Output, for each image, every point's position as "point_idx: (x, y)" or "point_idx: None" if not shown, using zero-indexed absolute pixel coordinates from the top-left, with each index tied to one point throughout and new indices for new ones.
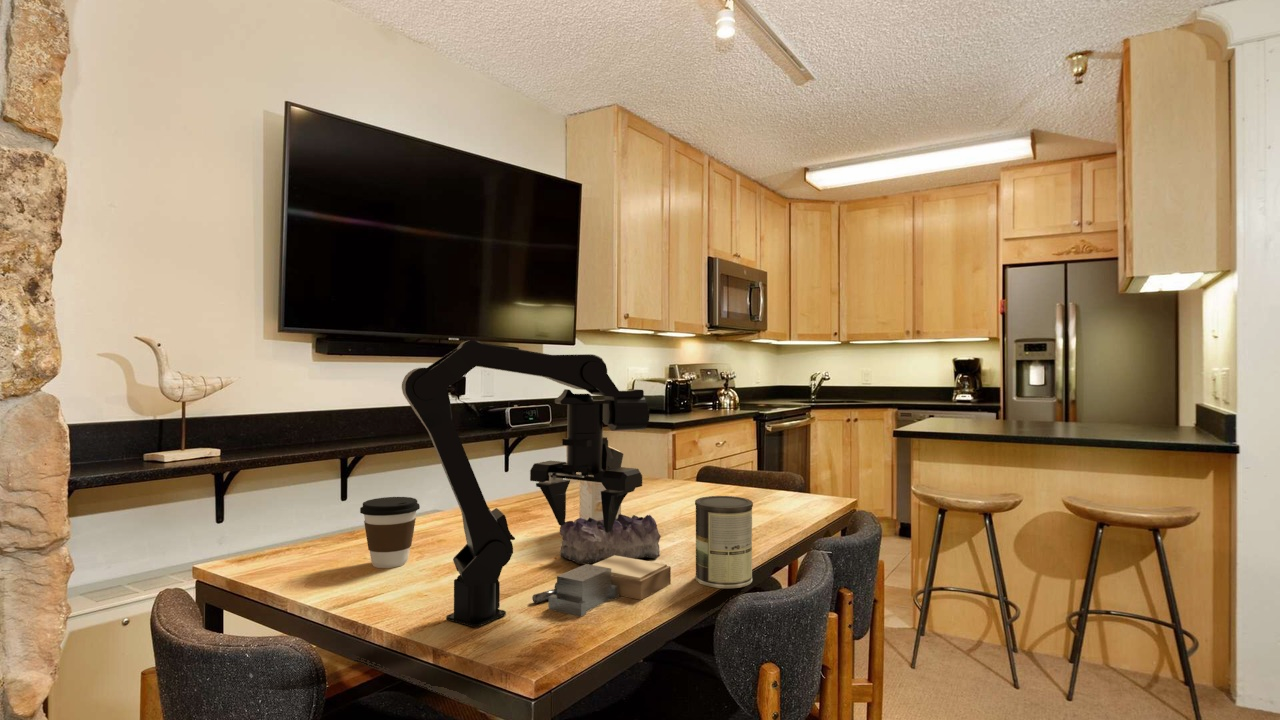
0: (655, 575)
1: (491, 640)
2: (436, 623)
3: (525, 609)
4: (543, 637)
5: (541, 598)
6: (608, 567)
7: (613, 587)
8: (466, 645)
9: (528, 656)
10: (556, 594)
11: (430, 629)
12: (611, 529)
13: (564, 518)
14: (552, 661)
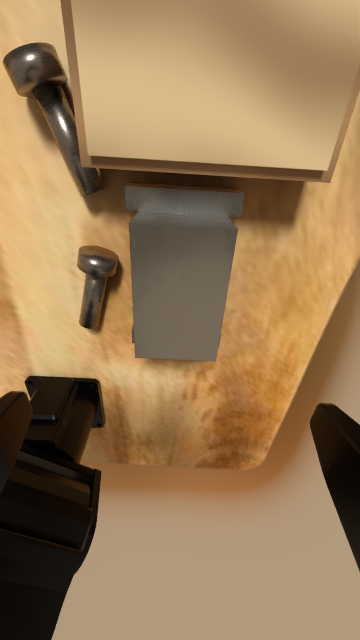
0: None
1: (151, 435)
2: None
3: (102, 346)
4: (206, 408)
5: (99, 317)
6: (162, 101)
7: (235, 215)
8: (136, 451)
9: (222, 445)
10: (106, 281)
11: None
12: (339, 409)
13: (7, 420)
14: (255, 444)
